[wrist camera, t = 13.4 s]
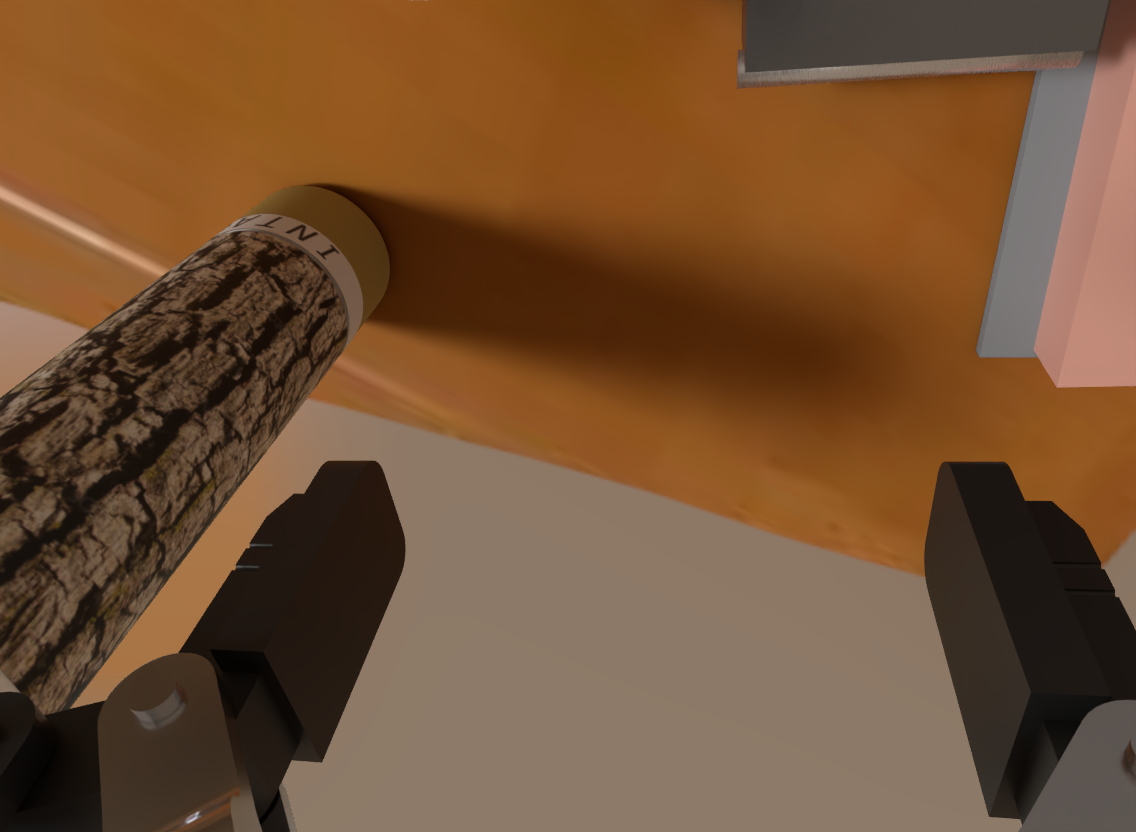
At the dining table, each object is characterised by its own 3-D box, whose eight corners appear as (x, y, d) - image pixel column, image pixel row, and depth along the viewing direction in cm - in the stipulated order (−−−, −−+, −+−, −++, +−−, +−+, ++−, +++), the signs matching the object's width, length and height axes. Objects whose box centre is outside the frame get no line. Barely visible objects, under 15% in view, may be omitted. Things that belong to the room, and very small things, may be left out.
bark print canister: (409, 313, 39) (76, 801, 19) (282, 317, 41) (-156, 778, 20) (375, 174, 36) (-86, 600, 15) (235, 184, 37) (-357, 588, 17)
